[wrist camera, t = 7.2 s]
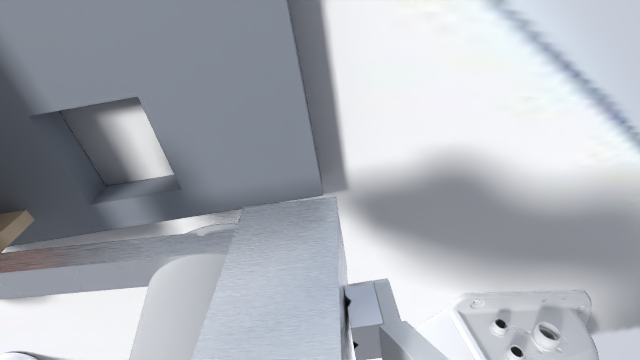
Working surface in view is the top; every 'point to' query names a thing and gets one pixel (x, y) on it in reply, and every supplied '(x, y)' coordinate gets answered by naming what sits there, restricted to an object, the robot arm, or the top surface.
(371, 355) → the robot arm
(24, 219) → the cubby
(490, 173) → the top surface
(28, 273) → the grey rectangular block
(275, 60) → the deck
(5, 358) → the drinking glass
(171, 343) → the beverage can
